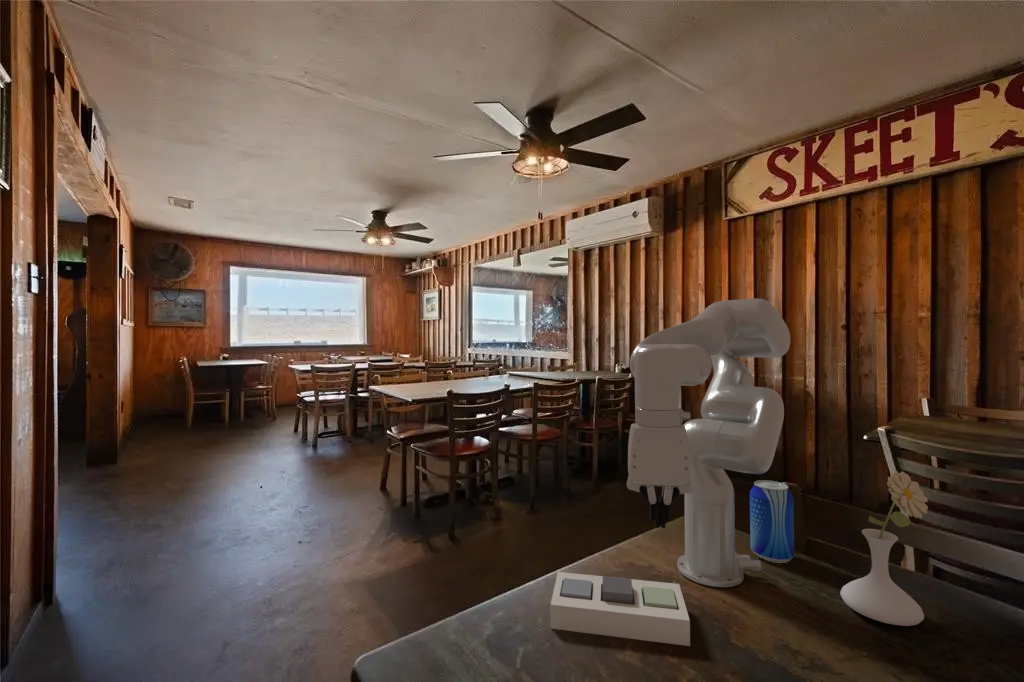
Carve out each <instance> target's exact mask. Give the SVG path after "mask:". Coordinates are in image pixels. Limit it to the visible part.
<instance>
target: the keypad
mask: <svg viewBox="0 0 1024 682" xmlns="http://www.w3.org/2000/svg"><path fill="white" fill-rule="evenodd" d="M603 577H605V576H602V575H593V574H592V575H591V574H583V573H572V572H563V571H557V574H556V577H555V578H556V579H555V584H554V588H553V592H552V595H551V601H550V629H553V630H558V631H559V630H561V631H568V632H576V633H583V634H591V635H600V636H607V637H615V638H623V639H631V640H639V641H646V642H655V643H661V644H669V645H670V644H671V645H677V646H686V647H691V622H690V621H691V620H690V617H689V613H688V610H687V606H686V602H685V600H684V596H683V593H682V590H681V586H680V583H673V582H672V583H671V582H663V581H653V580H643V579H635V578H634V579H631V578H630V579H631V581H632V591H633V605H632V604H623V603H614V602H605V601H603V598H602V589H603ZM612 577H613V576H612ZM564 578H568V579H577V580H587V581H592V600H587V599H578V598H569V597H561V592H562V586H563V581H564ZM613 578H615V577H613ZM622 578H623V577H622ZM623 579H625V578H623ZM643 586H645V587H655V588H664V589H673V593H674V596H675V600H676V604H677V609H668V608H659V607H650V606H644V605H643Z"/></svg>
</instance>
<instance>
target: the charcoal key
mask: <svg viewBox="0 0 1024 682" xmlns="http://www.w3.org/2000/svg"><path fill="white" fill-rule="evenodd" d="M602 598H603V601H605V602H614V603H623V604H632V605H633V591H632V581H631V578H624V579H623V577H614V578H613V576H611V577H610V576H604V577H603V589H602Z"/></svg>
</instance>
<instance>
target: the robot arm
mask: <svg viewBox="0 0 1024 682" xmlns="http://www.w3.org/2000/svg"><path fill="white" fill-rule="evenodd" d="M790 346H791V333H790V329H789V328H788V325H787V324H786V322H785V320H784V319H783V317H782V316H781V314H780V313H779V311H778V309H776V307H775V306H774V305H773V304H772V303H771V302H769V301H768V300H766V299H763V298H742V299H727V300H720V301H715V302H712V303H711V304H710V305H708V306H707V307H705V308H704V309H703V310H702V311H701V312H700V313H698V315H696V316H695V317H693V319H692V320H687V321H685V322H682V323H680V324H677V325H673V326H671V327H667V328H664V329H661V330H658V331H656V332H654V333H652V334H650V335H648V336H647V337H645V338H644V339H643V340H641V342H639V343H638V344H637V345H636V346H635V348H634V349H633V351H632V353H631V355H630V359H629V369H630V372H631V374H632V376H633V377H634V403H635V405H634V412H635V414H634V416H635V418H634V419H635V420H634V422H635V423H631V424H630V428H629V435H628V444H627V446H628V447H627V451H628V452H627V471H628V472H627V473H628V477H627V481H626V487H627V489H628V490H630V491H633V492H637V493H641V495H643V497H644V498H645V499H646V500H648V501H649V502H648V503H649V519H650V521H653V523H654V526H655V529H656V528H657V529H659V528H661V529H666V522H668V523H669V522H670V505H671V503H672V502H673V501H674V500H675V499H676V498H677V497H678V496H680V495H684V496H683V497H684V554H683V555H681V556H679V557H678V558H677V560H676V561H677V562H676V563H677V564H676V566H677V570H678V571H679V573H681V575H682V576H684V577H686V578H687V579H688V580H690V581H692V582H695V583H698V584H700V585H703V586H708V587H713V588H714V587H715V588H730V587H735V586H738V585H739V584H741V583H742V582H743V581H744V578H745V577H744V571H745V570H752V571H758V572H759V571H762V569H763V568H762V563H761V559H760V560H759V559H751V556H750V555H749V554H738V553H737V552H736V547H735V546H736V545H735V544H736V543H735V542H736V541H735V538H736V537H735V536H736V532H735V531H736V529H735V525H736V524H735V521H736V519H735V489H734V487H733V483H732V481H731V479H730V477H729V476H728V474H727V473H726V471H727V470H728V471H734V472H739V473H745V474H752V475H762V474H765V473H766V472H768V470H769V469H770V467H771V466H772V463H773V460H774V457H775V453H776V449H777V446H778V443H779V439H780V437H781V436H780V435H781V432H782V429H783V428H782V427H783V423H784V418H785V406H784V401H783V398H782V397H781V395H780V394H779V393H778V392H777V391H776V390H774V389H773V388H769V387H763V386H762V387H761V386H754V381H755V380H754V376H753V374H752V373H751V371H750V370H749V368H747V366H745V364H744V363H742V362H741V361H740V360H739V359H738V358H765V359H766V358H767V359H768V358H771V359H773V358H774V359H775V358H781V357H783V356H784V355H786V354H787V353H788V351H789V349H790ZM712 369H713V376H712V378H711V381H710V383H709V385H708V388H707V390H706V392H705V395H704V396H703V399H702V402H701V404H700V405H701V406H700V414H701V417H702V418H695V419H691V412H690V411H685V410H683V409H682V388H681V387H682V386H687V387H694V386H695V387H696V386H697V385H700V384H703V383H704V382H705V381H706V380H707V379H708V378H709V376H710V374H711V372H712ZM684 421H686V422H685V423H684ZM683 423H684V424H683ZM725 470H726V471H725ZM655 487H662V492H661V496H660V498H659V499H658V496H657V494H656V492H655V490H656V489H655Z"/></svg>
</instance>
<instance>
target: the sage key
mask: <svg viewBox="0 0 1024 682" xmlns="http://www.w3.org/2000/svg"><path fill="white" fill-rule="evenodd" d="M643 605H644V606H650V607H659V608H668V609H677V604H676V600H675V596H674V593H673V589H664V588H655V587H645V586H643Z"/></svg>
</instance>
